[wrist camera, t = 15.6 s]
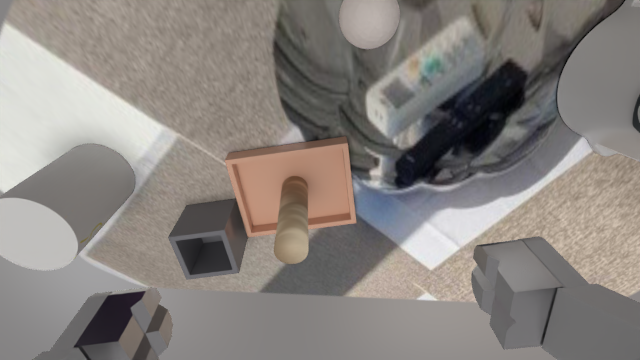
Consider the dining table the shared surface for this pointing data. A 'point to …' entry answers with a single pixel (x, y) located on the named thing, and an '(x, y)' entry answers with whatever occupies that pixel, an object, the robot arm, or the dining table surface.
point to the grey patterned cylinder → (63, 206)
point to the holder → (209, 239)
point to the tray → (285, 161)
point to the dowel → (292, 222)
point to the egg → (369, 21)
